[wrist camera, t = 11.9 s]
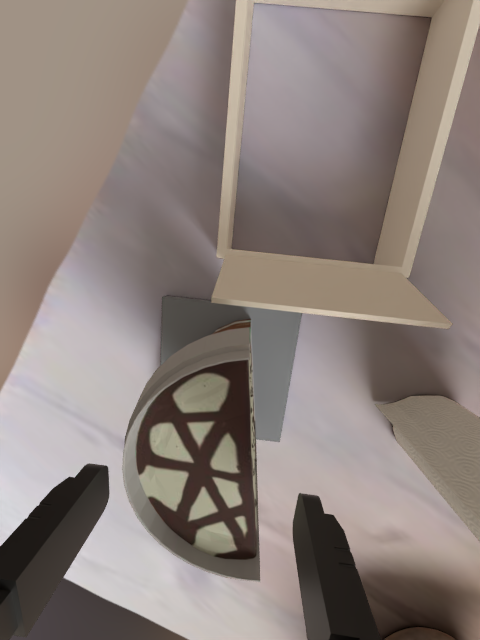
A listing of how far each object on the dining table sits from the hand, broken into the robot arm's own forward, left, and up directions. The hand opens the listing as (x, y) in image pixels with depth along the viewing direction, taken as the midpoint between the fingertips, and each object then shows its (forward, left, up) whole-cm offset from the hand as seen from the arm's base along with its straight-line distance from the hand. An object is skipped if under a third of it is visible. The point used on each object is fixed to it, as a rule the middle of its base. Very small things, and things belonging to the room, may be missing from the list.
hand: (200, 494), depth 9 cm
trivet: (0, 0, -11) cm, 11 cm away
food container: (+1, 0, -10) cm, 10 cm away
